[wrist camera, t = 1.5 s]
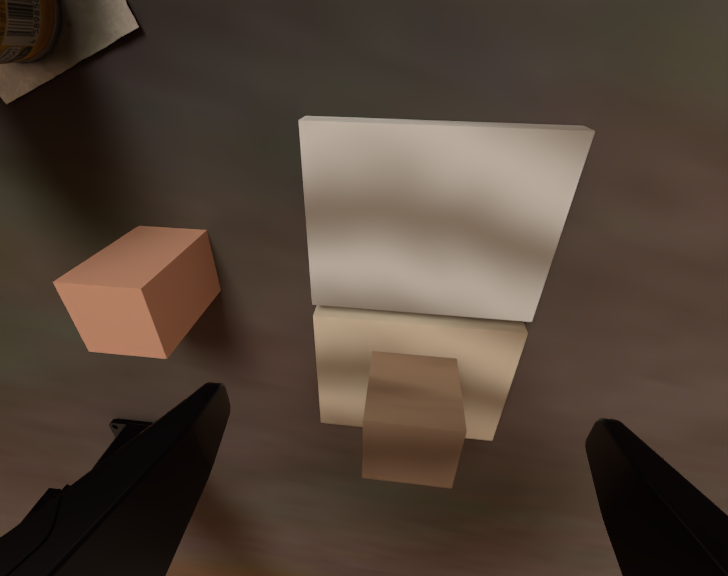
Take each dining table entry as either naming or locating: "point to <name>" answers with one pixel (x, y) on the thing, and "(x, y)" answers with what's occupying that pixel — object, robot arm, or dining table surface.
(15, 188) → the dining table surface
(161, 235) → the salmon orange block
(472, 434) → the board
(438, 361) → the walnut block
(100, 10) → the condiment
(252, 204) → the dining table surface
